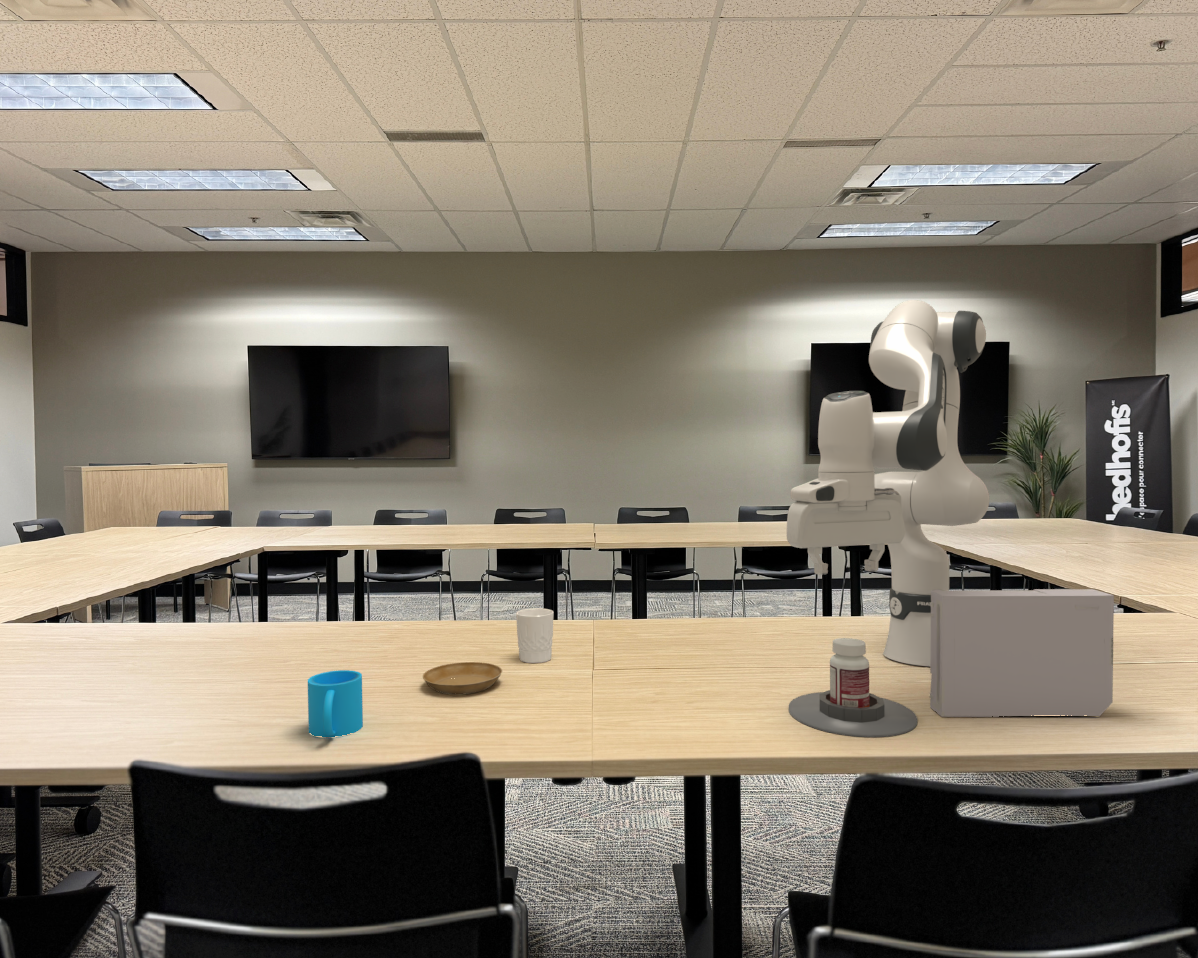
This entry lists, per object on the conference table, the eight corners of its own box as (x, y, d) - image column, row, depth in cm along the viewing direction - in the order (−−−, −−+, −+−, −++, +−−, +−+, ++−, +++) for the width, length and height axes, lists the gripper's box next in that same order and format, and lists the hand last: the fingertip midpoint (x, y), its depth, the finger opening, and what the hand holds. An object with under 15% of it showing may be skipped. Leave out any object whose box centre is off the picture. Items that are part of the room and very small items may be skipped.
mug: (314, 721, 120) (313, 671, 120) (366, 717, 122) (365, 668, 121) (298, 750, 108) (296, 695, 108) (355, 745, 110) (354, 691, 110)
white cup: (509, 662, 154) (509, 614, 153) (527, 652, 161) (526, 607, 161) (543, 665, 151) (543, 617, 150) (560, 655, 158) (559, 609, 158)
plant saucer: (407, 695, 134) (406, 680, 134) (448, 671, 148) (447, 659, 148) (480, 702, 129) (479, 687, 129) (515, 678, 143) (515, 664, 143)
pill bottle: (877, 711, 120) (877, 642, 120) (852, 718, 117) (852, 648, 117) (846, 701, 125) (846, 635, 125) (821, 708, 122) (821, 640, 122)
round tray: (868, 690, 133) (868, 676, 133) (945, 729, 114) (945, 713, 114) (767, 700, 128) (767, 685, 128) (830, 743, 109) (830, 726, 109)
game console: (926, 705, 125) (926, 589, 125) (1089, 705, 124) (1090, 588, 124) (940, 717, 119) (941, 595, 119) (1112, 718, 118) (1113, 595, 118)
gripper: (888, 486, 127) (888, 566, 128) (781, 490, 122) (782, 572, 123) (913, 488, 121) (913, 571, 122) (801, 492, 116) (801, 579, 117)
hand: (846, 572), depth 122 cm, fingers open, 8 cm apart
